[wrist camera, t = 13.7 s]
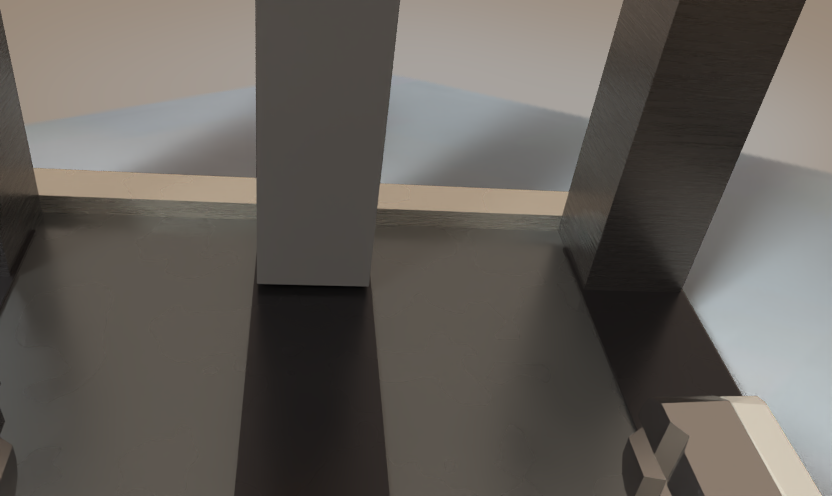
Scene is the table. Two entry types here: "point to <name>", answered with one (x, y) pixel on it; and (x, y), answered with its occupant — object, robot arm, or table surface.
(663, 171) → the grey peg stand
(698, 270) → the table surface
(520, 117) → the table surface
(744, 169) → the table surface
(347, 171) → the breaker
